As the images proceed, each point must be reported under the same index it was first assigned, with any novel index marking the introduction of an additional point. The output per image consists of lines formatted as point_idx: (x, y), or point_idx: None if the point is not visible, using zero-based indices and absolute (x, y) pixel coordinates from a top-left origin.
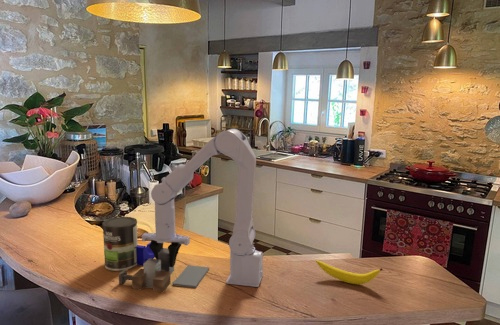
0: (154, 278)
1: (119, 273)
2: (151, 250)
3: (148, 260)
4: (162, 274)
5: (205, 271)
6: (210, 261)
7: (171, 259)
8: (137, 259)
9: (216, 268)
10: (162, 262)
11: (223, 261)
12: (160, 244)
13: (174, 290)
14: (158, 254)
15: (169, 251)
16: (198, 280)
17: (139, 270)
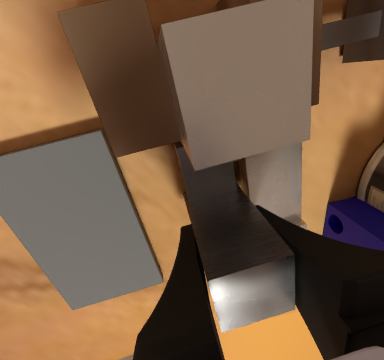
0: (138, 7)
1: None
2: None
3: (296, 93)
4: (131, 98)
5: (57, 283)
6: (119, 335)
7: (185, 253)
8: (374, 209)
9: (56, 318)
10: (234, 218)
11: (78, 355)
12: (326, 327)
13: (49, 86)
14: (282, 244)
15: (199, 296)
16: (9, 215)
17: (314, 75)
